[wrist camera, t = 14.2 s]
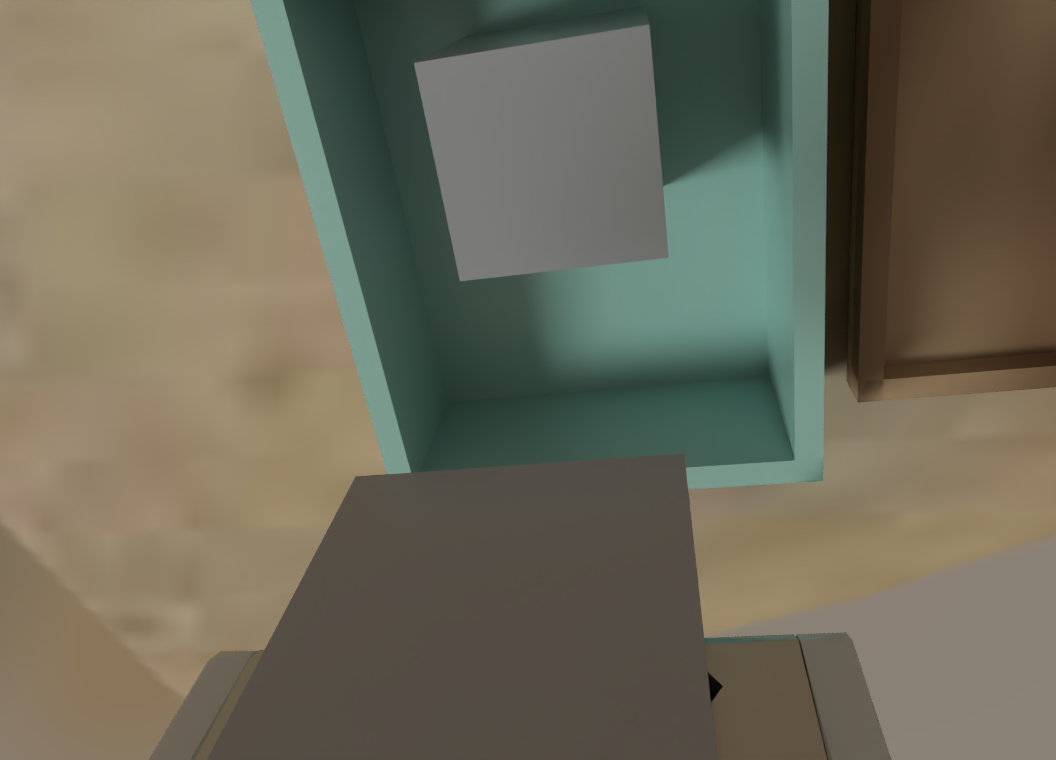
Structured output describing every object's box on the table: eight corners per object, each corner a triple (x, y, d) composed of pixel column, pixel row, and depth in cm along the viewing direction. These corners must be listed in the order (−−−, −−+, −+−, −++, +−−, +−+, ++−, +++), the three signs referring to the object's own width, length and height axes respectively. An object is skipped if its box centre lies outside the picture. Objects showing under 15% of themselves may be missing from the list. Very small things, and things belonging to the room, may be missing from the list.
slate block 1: (645, 5, 17) (649, 24, 13) (660, 187, 19) (669, 258, 15) (466, 35, 18) (413, 63, 14) (498, 208, 20) (459, 281, 15)
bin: (782, -129, 16) (830, -154, 12) (788, 384, 22) (822, 480, 18) (325, -42, 18) (239, -40, 14) (435, 413, 23) (396, 506, 20)
